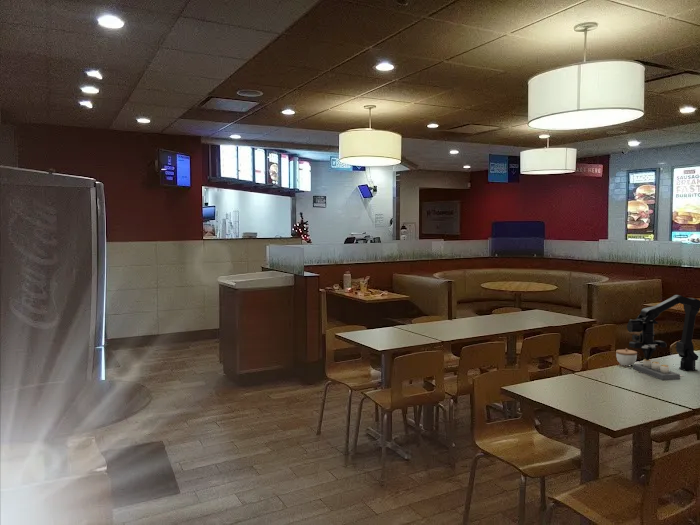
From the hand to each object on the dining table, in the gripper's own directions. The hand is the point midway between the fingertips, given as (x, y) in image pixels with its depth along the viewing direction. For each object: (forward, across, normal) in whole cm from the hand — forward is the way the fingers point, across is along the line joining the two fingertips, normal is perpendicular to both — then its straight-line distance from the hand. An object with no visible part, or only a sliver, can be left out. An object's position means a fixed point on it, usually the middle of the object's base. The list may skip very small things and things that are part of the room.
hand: (647, 359), depth 305 cm
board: (+6, 0, +7) cm, 9 cm away
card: (+6, -8, +7) cm, 12 cm away
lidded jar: (+6, +3, -14) cm, 16 cm away
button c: (+4, 0, +14) cm, 15 cm away
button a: (+4, 0, 0) cm, 4 cm away
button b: (+4, 0, +7) cm, 8 cm away
